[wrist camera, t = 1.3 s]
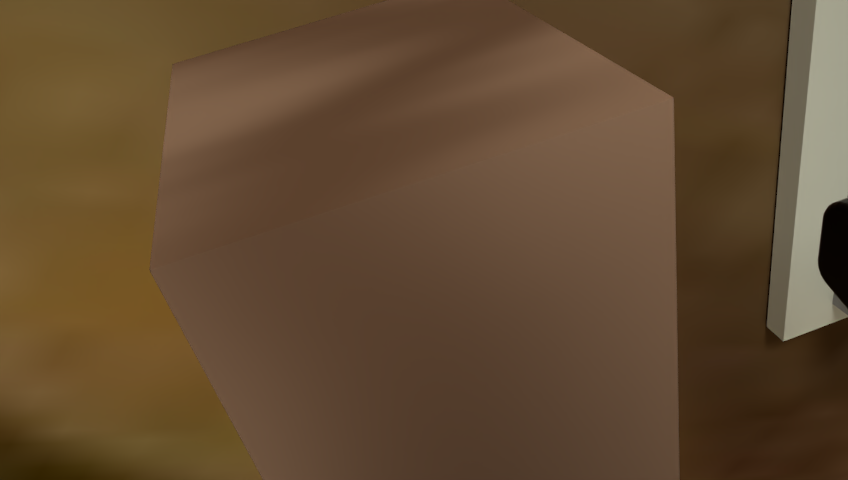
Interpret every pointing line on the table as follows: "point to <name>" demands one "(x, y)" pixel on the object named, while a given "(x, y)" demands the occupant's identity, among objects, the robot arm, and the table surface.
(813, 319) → the socket board
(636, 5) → the table surface
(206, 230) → the walnut block
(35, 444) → the table surface
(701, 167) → the table surface
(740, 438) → the table surface
